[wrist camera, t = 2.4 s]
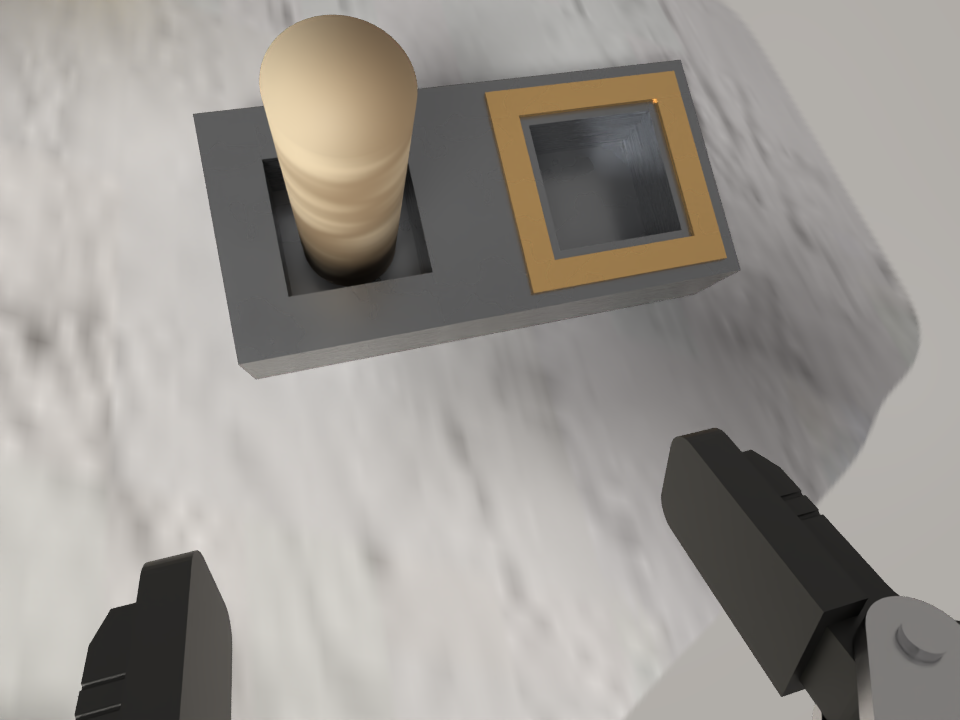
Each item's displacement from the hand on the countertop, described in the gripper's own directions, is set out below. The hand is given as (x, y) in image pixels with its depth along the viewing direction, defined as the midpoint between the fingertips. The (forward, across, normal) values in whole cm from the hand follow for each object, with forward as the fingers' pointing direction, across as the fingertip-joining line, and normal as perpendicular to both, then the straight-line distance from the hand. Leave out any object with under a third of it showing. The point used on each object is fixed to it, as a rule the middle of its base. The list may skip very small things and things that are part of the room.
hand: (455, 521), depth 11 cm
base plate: (+20, -6, +5) cm, 21 cm away
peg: (+20, 0, +4) cm, 20 cm away
